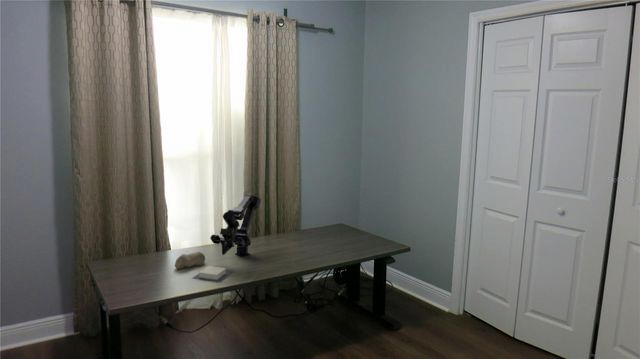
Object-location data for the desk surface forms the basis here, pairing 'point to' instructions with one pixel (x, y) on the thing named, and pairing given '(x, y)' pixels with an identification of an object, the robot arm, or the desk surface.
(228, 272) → the mat
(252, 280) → the desk surface
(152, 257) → the desk surface
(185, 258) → the sculpture
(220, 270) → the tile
